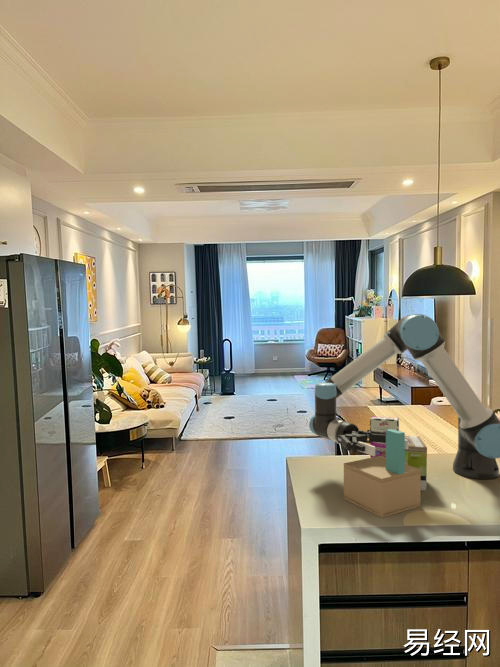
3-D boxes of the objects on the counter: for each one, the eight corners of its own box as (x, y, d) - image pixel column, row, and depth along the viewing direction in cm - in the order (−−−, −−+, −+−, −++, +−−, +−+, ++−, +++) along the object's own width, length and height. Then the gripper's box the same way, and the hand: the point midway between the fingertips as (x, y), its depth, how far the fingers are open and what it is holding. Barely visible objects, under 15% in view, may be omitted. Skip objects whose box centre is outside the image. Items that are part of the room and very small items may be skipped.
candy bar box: (399, 457, 182) (399, 417, 182) (398, 461, 177) (398, 420, 177) (371, 454, 186) (371, 415, 186) (369, 458, 182) (369, 418, 181)
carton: (343, 498, 140) (343, 466, 140) (380, 488, 148) (380, 458, 148) (381, 517, 126) (381, 482, 126) (420, 506, 134) (420, 473, 134)
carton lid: (343, 466, 140) (343, 425, 139) (380, 458, 148) (380, 419, 147) (381, 482, 126) (381, 436, 126) (420, 472, 134) (420, 429, 133)
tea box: (427, 491, 145) (427, 446, 145) (395, 489, 147) (395, 445, 147) (419, 476, 160) (419, 435, 160) (390, 474, 162) (390, 433, 162)
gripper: (371, 439, 157) (420, 454, 138) (314, 449, 145) (359, 467, 126) (371, 417, 157) (420, 430, 138) (314, 426, 145) (359, 441, 126)
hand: (391, 448), depth 132 cm, fingers open, 13 cm apart
